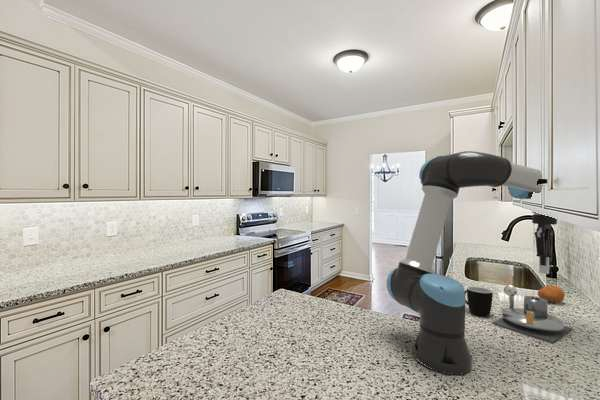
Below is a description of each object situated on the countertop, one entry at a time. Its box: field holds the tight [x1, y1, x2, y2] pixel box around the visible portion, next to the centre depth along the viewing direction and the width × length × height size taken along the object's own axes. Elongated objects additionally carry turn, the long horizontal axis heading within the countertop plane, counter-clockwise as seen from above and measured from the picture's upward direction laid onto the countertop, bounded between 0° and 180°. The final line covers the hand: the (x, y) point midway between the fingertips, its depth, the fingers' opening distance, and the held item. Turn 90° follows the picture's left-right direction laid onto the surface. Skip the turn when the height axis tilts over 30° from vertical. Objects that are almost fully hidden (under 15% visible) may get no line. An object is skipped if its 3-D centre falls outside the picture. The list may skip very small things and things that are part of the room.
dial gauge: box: [503, 284, 518, 308], centre depth 120 cm, size 4×4×12 cm
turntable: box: [501, 307, 565, 332], centre depth 107 cm, size 18×18×6 cm
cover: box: [523, 295, 549, 318], centre depth 109 cm, size 7×7×7 cm
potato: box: [537, 285, 565, 303], centre depth 135 cm, size 9×11×8 cm
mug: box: [465, 286, 493, 318], centre depth 120 cm, size 12×9×10 cm
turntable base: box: [491, 317, 573, 344], centre depth 106 cm, size 20×18×2 cm
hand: (544, 273), depth 114 cm, fingers closed
